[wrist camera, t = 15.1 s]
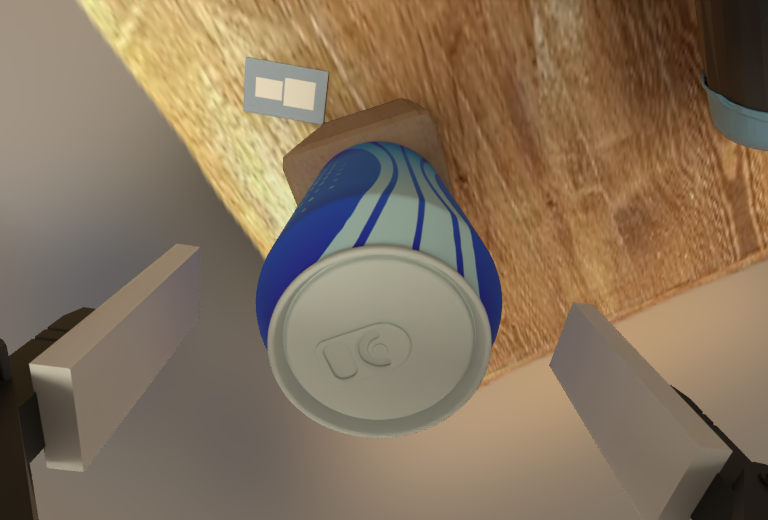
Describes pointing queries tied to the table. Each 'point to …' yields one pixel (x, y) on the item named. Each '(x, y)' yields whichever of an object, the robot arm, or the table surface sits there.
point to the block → (375, 124)
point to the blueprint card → (285, 90)
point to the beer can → (378, 297)
